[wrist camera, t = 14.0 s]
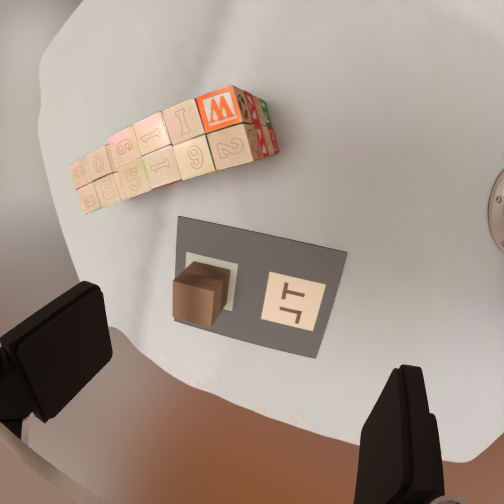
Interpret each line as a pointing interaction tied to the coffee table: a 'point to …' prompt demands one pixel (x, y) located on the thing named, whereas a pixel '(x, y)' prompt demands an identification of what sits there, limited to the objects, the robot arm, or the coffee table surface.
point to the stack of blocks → (176, 147)
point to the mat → (265, 284)
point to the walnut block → (200, 293)
